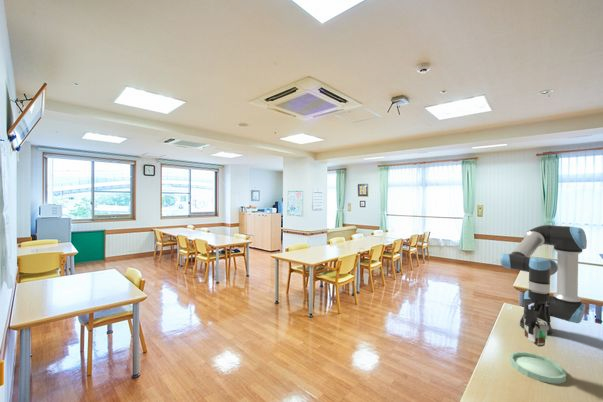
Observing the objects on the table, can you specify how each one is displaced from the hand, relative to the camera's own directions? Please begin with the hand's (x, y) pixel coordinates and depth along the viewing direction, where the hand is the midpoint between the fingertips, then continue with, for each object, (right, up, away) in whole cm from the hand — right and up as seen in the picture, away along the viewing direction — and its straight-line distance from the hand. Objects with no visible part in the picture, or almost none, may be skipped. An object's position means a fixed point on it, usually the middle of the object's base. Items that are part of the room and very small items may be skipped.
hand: (537, 339), depth 129 cm
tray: (0, -14, 0) cm, 14 cm away
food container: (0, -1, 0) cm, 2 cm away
